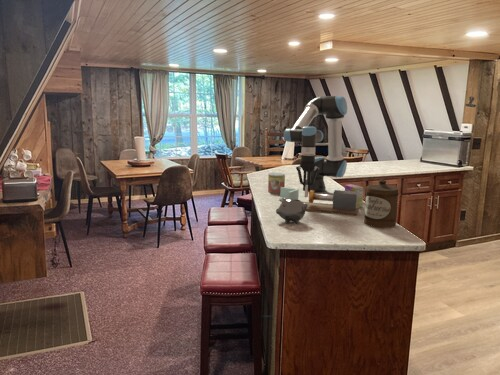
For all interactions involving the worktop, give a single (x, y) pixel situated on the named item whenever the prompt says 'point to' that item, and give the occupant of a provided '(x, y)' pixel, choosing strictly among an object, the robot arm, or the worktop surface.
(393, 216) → the wooden container
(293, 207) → the piggy bank
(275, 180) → the canned food
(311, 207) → the base board
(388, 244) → the worktop surface
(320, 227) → the worktop surface
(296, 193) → the l-shaped corner panel
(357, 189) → the box
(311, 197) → the shaft
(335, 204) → the housing
